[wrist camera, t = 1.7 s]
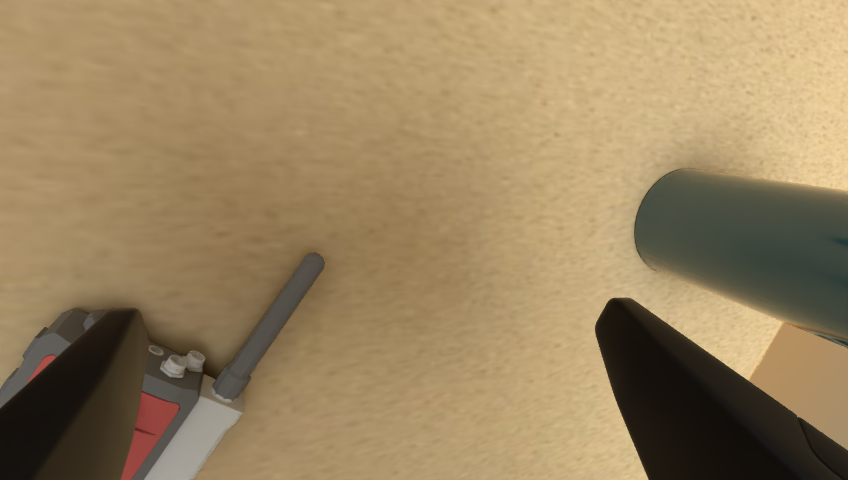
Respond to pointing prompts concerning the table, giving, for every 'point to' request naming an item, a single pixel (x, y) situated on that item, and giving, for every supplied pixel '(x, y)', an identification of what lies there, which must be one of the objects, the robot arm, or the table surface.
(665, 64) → the table surface
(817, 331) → the mug
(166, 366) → the walkie-talkie
